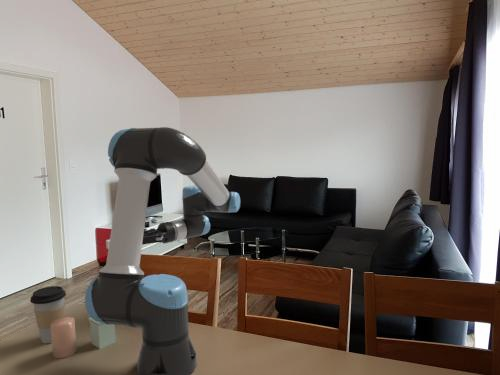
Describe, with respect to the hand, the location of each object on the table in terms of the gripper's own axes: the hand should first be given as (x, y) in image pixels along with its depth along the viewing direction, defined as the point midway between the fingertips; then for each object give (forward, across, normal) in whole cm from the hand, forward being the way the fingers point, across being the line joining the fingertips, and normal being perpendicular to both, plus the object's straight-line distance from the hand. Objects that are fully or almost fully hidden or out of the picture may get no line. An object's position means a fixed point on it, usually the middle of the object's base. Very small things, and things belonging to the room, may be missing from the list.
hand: (107, 244), depth 122 cm
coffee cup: (+19, 0, -26) cm, 32 cm away
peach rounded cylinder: (+18, -11, -25) cm, 33 cm away
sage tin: (+8, -13, -25) cm, 30 cm away
